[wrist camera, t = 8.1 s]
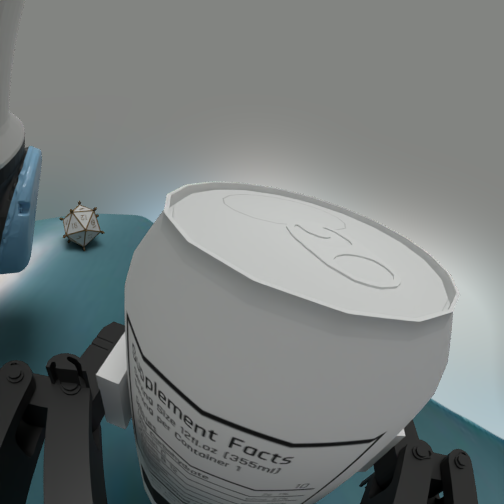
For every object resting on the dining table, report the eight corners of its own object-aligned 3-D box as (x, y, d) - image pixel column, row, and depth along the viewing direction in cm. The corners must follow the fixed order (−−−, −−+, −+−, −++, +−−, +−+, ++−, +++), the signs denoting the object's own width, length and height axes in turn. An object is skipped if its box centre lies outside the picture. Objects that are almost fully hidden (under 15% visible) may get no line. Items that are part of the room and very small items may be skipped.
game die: (76, 257, 52) (71, 210, 53) (112, 249, 53) (106, 200, 54) (55, 254, 44) (50, 200, 44) (94, 244, 45) (89, 188, 45)
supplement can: (131, 433, 14) (129, 165, 8) (256, 417, 18) (343, 197, 12) (166, 555, 7) (156, 432, 2) (311, 516, 11) (515, 307, 5)
